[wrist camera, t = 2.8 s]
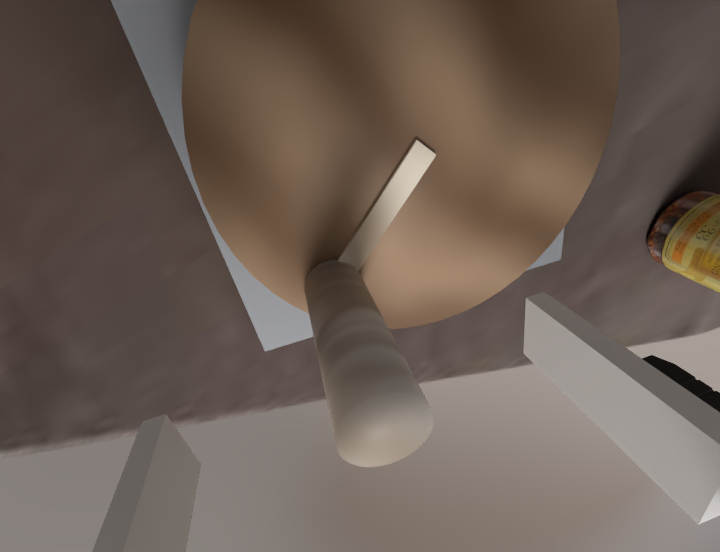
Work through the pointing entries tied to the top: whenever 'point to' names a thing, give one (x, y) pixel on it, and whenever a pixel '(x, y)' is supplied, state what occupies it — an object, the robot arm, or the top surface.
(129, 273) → the top surface
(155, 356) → the top surface
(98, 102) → the top surface
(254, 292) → the wheel stand
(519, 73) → the handwheel
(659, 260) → the sauce bottle
